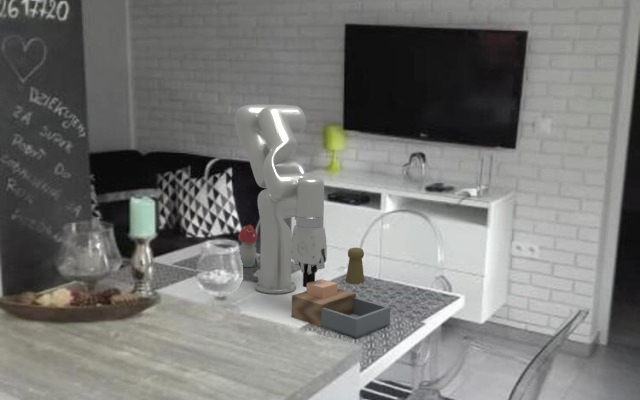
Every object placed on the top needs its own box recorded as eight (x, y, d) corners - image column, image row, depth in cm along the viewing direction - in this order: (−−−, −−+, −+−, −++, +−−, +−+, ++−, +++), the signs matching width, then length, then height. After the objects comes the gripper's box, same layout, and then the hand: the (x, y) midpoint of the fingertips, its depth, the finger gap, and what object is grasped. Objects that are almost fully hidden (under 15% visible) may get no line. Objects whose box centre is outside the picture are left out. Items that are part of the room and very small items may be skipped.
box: (321, 326, 189) (321, 308, 188) (355, 314, 199) (355, 297, 198) (356, 338, 181) (356, 319, 180) (389, 325, 191) (390, 307, 190)
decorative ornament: (255, 269, 243) (255, 225, 240) (236, 268, 243) (236, 225, 240) (258, 262, 252) (259, 220, 249) (240, 261, 252) (240, 219, 250)
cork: (362, 284, 227) (364, 251, 226) (344, 283, 229) (345, 249, 227) (365, 279, 233) (366, 246, 231) (347, 278, 234) (348, 245, 233)
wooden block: (291, 316, 196) (292, 295, 195) (325, 305, 206) (326, 285, 205) (321, 326, 189) (321, 304, 188) (355, 314, 199) (355, 293, 198)
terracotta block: (306, 293, 197) (306, 283, 196) (321, 289, 201) (321, 279, 201) (322, 298, 193) (322, 287, 192) (337, 293, 197) (337, 283, 197)
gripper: (281, 219, 199) (280, 283, 202) (320, 227, 189) (319, 294, 192) (300, 216, 205) (299, 278, 208) (339, 224, 195) (337, 289, 198)
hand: (308, 286), depth 200 cm, fingers closed
